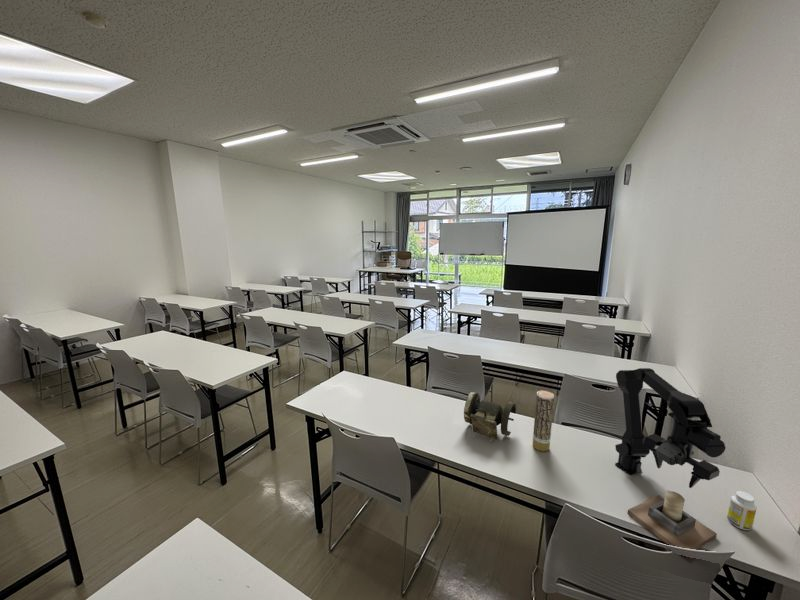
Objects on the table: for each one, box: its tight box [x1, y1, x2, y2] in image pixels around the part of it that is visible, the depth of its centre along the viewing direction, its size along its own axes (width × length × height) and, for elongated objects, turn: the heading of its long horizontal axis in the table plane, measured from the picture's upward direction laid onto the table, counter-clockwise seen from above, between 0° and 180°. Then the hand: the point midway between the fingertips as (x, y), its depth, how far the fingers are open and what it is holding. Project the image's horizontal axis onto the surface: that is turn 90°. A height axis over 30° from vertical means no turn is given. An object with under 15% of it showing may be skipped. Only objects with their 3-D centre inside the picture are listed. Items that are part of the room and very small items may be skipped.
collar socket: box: [627, 494, 718, 550], centre depth 101 cm, size 16×16×4 cm
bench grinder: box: [463, 391, 517, 443], centre depth 149 cm, size 20×22×20 cm
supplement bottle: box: [726, 490, 757, 531], centre depth 101 cm, size 6×6×10 cm
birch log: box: [532, 390, 555, 452], centre depth 137 cm, size 7×7×25 cm
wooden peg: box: [662, 490, 686, 524], centre depth 101 cm, size 4×4×9 cm
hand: (674, 477), depth 106 cm, fingers open, 9 cm apart
